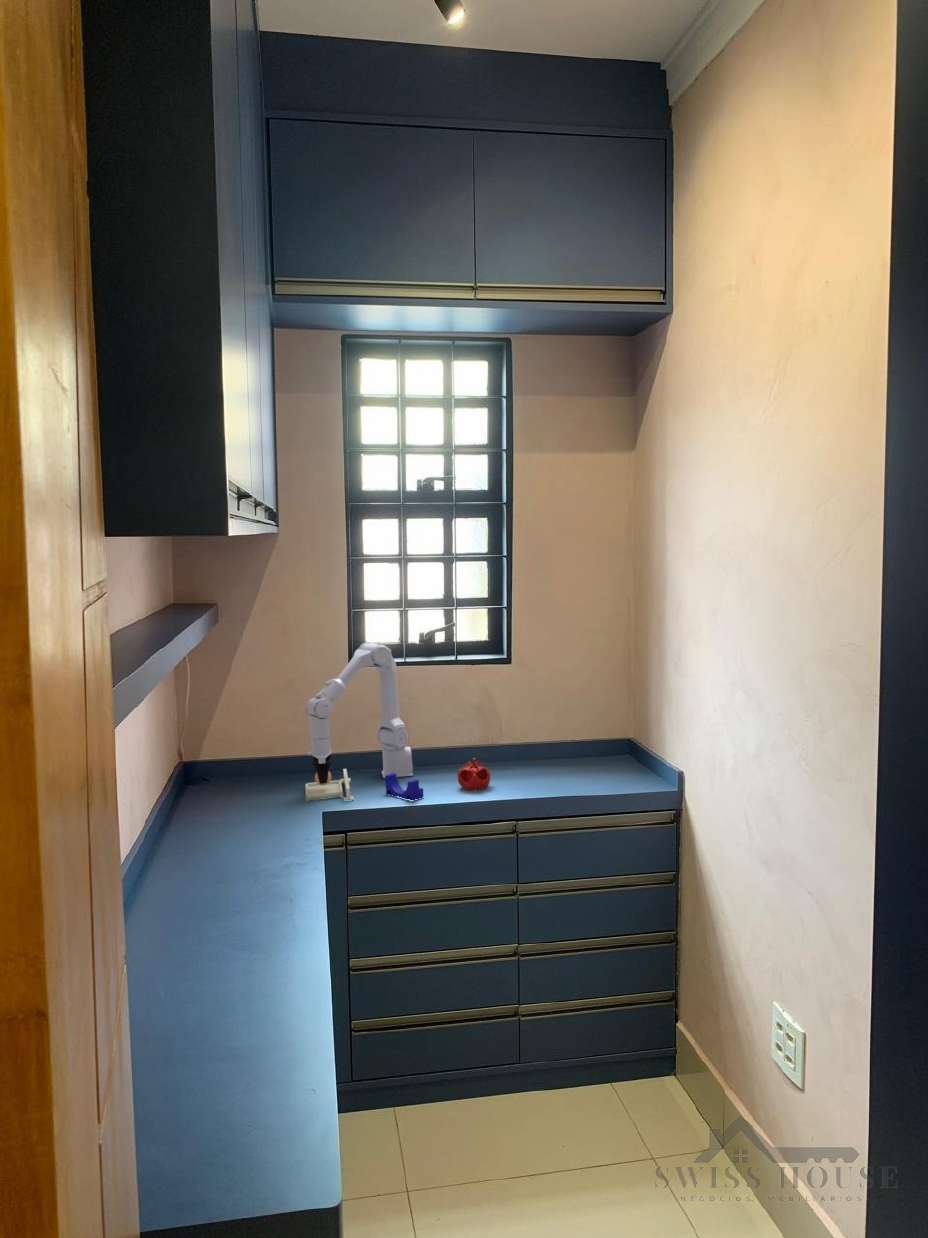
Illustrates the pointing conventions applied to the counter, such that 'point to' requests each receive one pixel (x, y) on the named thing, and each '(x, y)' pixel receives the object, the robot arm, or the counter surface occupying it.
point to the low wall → (346, 785)
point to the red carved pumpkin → (473, 776)
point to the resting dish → (323, 790)
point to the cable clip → (396, 790)
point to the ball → (324, 783)
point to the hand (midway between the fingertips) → (323, 780)
